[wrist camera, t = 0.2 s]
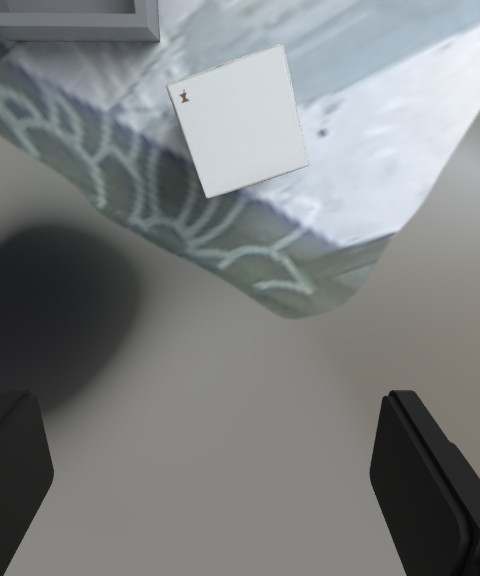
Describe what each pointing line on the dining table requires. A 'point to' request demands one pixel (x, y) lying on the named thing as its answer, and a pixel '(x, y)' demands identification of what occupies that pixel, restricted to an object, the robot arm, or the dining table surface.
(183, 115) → the supplement box
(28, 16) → the bin
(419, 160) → the dining table surface
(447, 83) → the dining table surface
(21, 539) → the robot arm
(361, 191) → the dining table surface
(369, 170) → the dining table surface
